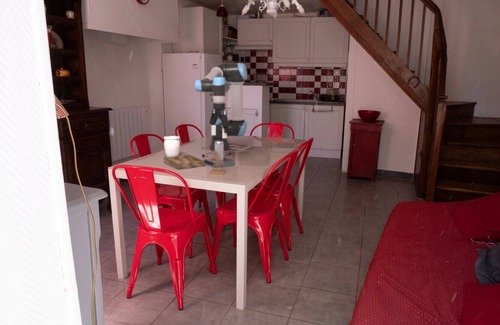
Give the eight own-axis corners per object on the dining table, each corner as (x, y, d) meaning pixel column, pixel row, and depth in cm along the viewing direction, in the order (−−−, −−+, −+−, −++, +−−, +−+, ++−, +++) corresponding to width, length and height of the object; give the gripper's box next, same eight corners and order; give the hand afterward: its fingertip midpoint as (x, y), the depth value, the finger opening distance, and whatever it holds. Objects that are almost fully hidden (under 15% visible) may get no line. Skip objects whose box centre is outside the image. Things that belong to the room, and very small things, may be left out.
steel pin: (220, 163, 246) (220, 140, 243) (224, 164, 242) (224, 141, 239) (213, 164, 244) (213, 141, 240) (217, 165, 240) (217, 142, 236)
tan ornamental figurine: (225, 173, 223) (225, 153, 220) (223, 174, 219) (223, 154, 216) (211, 171, 225) (211, 152, 222) (208, 173, 221) (208, 153, 218)
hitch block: (222, 161, 253) (222, 156, 252) (234, 165, 241) (234, 160, 241) (204, 163, 245) (204, 159, 244) (215, 168, 234) (215, 163, 233)
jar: (164, 160, 252) (163, 138, 249) (164, 156, 262) (163, 135, 259) (180, 159, 254) (179, 137, 251) (180, 156, 264) (179, 135, 261)
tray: (189, 159, 256) (188, 154, 255) (204, 166, 238) (204, 160, 237) (163, 162, 245) (163, 157, 245) (178, 169, 228) (178, 164, 227)
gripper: (204, 101, 242) (204, 134, 246) (224, 104, 222) (224, 139, 227) (214, 101, 246) (214, 133, 251) (235, 103, 226) (234, 138, 231)
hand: (219, 136), depth 239 cm, fingers open, 13 cm apart
